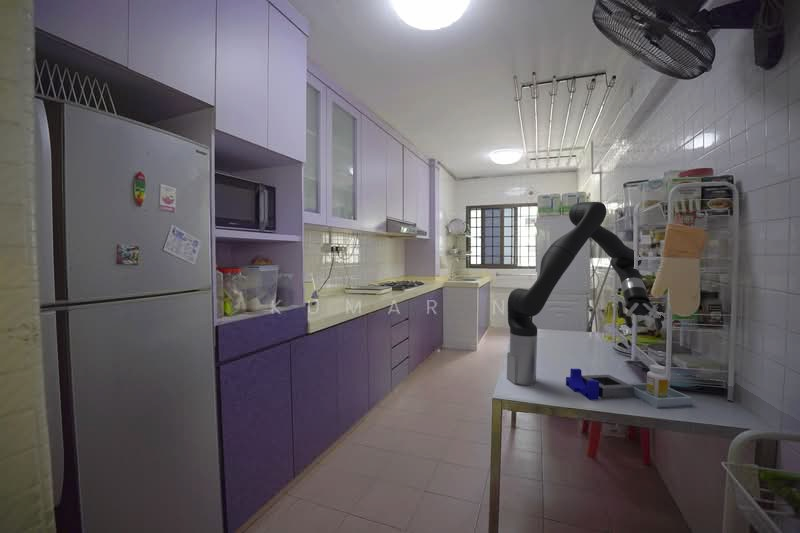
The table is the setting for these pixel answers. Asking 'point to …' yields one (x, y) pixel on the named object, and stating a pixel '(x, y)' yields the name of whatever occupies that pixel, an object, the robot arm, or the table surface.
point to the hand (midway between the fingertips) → (645, 328)
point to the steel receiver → (611, 387)
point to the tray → (672, 398)
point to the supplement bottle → (657, 382)
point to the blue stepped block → (583, 385)
